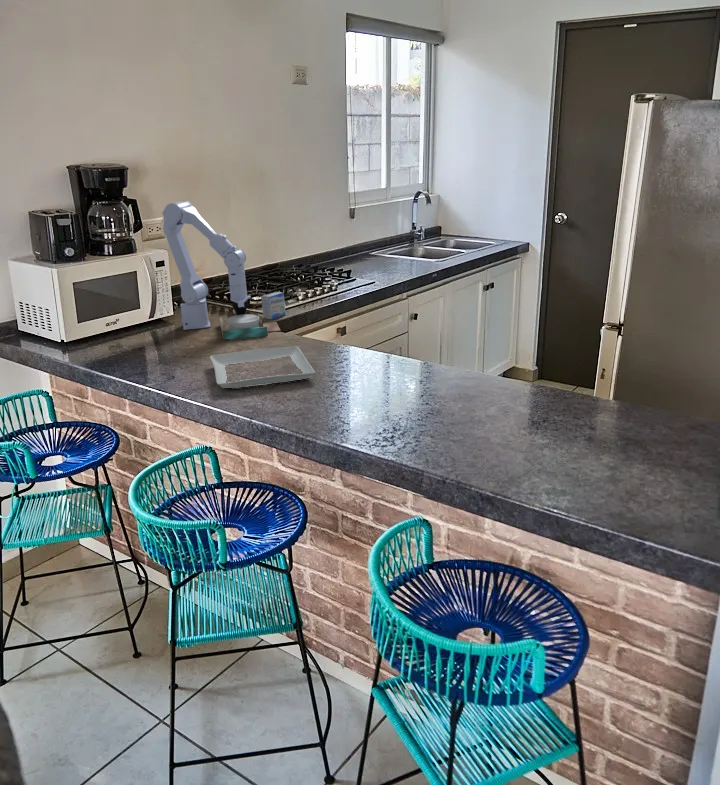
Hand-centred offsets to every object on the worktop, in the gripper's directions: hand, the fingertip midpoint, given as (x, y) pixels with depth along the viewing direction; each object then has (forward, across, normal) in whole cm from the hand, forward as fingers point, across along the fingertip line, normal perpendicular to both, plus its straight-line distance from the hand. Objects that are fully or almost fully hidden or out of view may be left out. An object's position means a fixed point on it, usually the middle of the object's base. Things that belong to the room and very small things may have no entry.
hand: (241, 322), depth 253 cm
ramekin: (+2, -7, 0) cm, 8 cm away
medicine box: (+2, +11, -13) cm, 17 cm away
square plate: (+2, -53, -1) cm, 53 cm away
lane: (+2, -4, -3) cm, 5 cm away
